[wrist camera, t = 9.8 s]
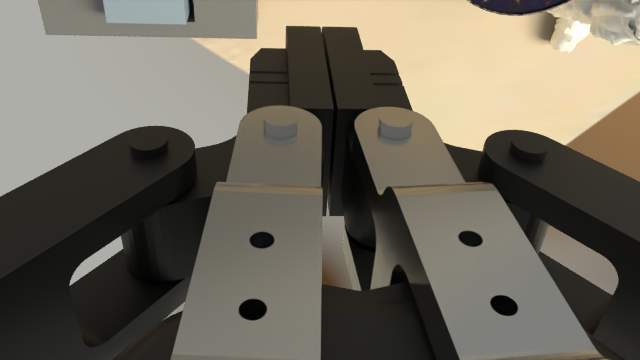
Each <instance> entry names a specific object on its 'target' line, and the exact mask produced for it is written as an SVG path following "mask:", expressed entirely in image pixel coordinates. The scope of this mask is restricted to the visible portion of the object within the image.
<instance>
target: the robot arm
mask: <svg viewBox="0 0 640 360" xmlns="http://www.w3.org/2000/svg"><path fill="white" fill-rule="evenodd" d="M402 84H403V83H402V81H401V78H400V76H399V73H398V70H397V67H396V65H395V62H394V61H393V60H392V59H391V58H389V57H388V56H387V55H386V54H384V53H383V52H382V51H381V50H363V47H362V43H361V40H360V36H359V33H358V30H357V28H356V27H322V33H321V28H320V27H312V26H286V49H276V48H261V49H260V50H259V51H258V52H257V53H256V54H255V55H254V56H253V57H252V58H251V61H250V76H249V91H248V106H247V114H246V115H245V116H244V117H243V118H242V120H241V121H240V124H239V128H238V132H237V135H236V136H235V137H233V138H232V139H230V140H227V141H225V142H223V143H219V144H216V145H212V146H207V147H201V148H196V149H195V144H194V141H193V140H192V138H191V137H190V136H189V135H187V134H186V133H184V132H183V131H180V130H178V129H175V128H171V127H165V126H146V127H139V128H135V129H131V130H129V131H126V132H123V133H121V134H119V135H117V136H115V137H113V138H111V139H109V140H107V141H106V142H104V143H102V144H100V145H98V146H96V147H94V148H92V149H90V150H88V151H87V152H85V153H83V154H81V155H79V156H77V157H75V158H73V159H71V160H69V161H67V162H65V163H64V164H62V165H60V166H58V167H56V168H54V169H52V170H50V171H48V172H47V173H45V174H43V175H41V176H39V177H37V178H35V179H33V180H31V181H29V182H27V183H26V184H24V185H22V186H20V187H18V188H16V189H14V190H12V191H10V192H9V193H6V194H5V195H3V196H1V197H0V360H640V182H639V181H637V180H635V179H633V178H631V177H629V176H626V175H624V174H622V173H620V172H618V171H616V170H614V169H612V168H610V167H608V166H606V165H604V164H602V163H600V162H598V161H596V160H593V159H591V158H589V157H587V156H585V155H583V154H581V153H579V152H577V151H575V150H573V149H571V148H569V147H567V146H565V145H562V144H560V143H558V142H556V141H554V140H552V139H550V138H548V137H545V136H543V135H540V134H537V133H533V132H529V131H523V130H505V131H500V132H496V133H494V134H492V135H490V136H489V137H488V138H487V139H486V141H485V144H484V148H483V152H481V151H476V150H471V149H466V148H461V147H456V146H452V145H449V144H446V143H443V141H442V139H441V137H440V136H439V134H438V132H437V130H436V128H435V127H434V125H433V124H432V122H431V121H430V120H429V119H427V118H426V117H424V116H423V115H421V114H419V113H417V112H414V111H413V110H412V107H411V105H410V102H409V99H408V97H407V94H406V91H405V89H404V86H402ZM327 199H328V207H329V215H330V216H344V221H345V226H344V237H343V249H344V254H345V258H346V262H347V266H348V270H349V274H350V278H351V282H352V286H353V290H351V289H346V288H340V287H335V286H329V285H324V284H321V283H322V216H326V209H327ZM549 225H551V226H553V227H554V228H556V229H558V230H559V231H561V232H563V233H565V234H567V235H568V236H570V237H572V238H574V239H575V240H577V241H579V242H580V243H582V244H584V245H585V246H587V247H589V248H591V249H593V250H594V251H596V252H598V253H599V254H601V255H602V256H604V257H605V258H607V259H608V260H609V261H610V262H611V263H612V264H613V266H614V267H615V269H616V271H617V274H618V277H619V282H618V286H617V288H616V290H615V293H614V294H613V295H611V294H609V293H607V292H605V291H604V290H602V289H601V288H599V287H597V286H596V285H594V284H592V283H591V282H589V281H587V280H586V279H584V278H583V277H581V276H579V275H578V274H576V273H574V272H573V271H571V270H570V269H568V268H566V267H565V266H563V265H562V264H560V263H558V262H557V261H555V260H553V259H551V258H550V257H548V256H547V255H545V254H544V253H542V252H540V249H541V246H542V243H543V240H544V238H545V235H546V232H547V230H548V227H549ZM119 236H121V239H122V243H123V248H124V249H122V250H121V251H119V252H118V253H117V254H115V255H114V256H112V257H111V258H109V259H108V260H107V261H105V262H104V263H102V264H101V265H99V266H98V267H96V268H95V269H93V270H92V271H91V272H89V273H88V274H86V275H85V276H83V277H82V278H80V279H79V280H78V281H76V282H75V283H73V284H72V285H70V286H69V284H70V280H71V277H72V275H73V273H74V271H75V270H76V268H77V267H78V266H79V265H80V264H81V263H82V262H83V261H84V260H85V259H87V258H88V257H90V256H91V255H92V254H94V253H96V252H97V251H99V250H100V249H102V248H103V247H105V246H106V245H107V244H109V243H110V242H112V241H113V240H115V239H116V238H118V237H119ZM184 302H185V305H184V309H183V311H181V312H179V313H176V314H174V315H172V316H170V317H168V318H166V317H167V316H168V315H169V314H171V313H172V312H173V311H174V310H175V309H176V308H178V307H179V306H180V305H181V304H182V303H184ZM165 318H166V319H165ZM164 319H165V320H164ZM162 320H163V321H162Z"/></svg>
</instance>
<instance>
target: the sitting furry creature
mask: <svg viewBox="0 0 640 360" xmlns="http://www.w3.org/2000/svg"><path fill="white" fill-rule="evenodd" d="M546 12H548V13H551V14H552V15H553V16H554V17H558V19H557V20H556V24H555V26H554V27H555V31H554V33H553V35H552V38H551V40H550V45H551V47H553V48H554V49H556V50H558V51H561V52H563V51H565V50H567V52H571V51H572V50H573V49H574V47H575V46H576V44H577V42H579V41H581V40H582V39H583V38H585V36H586V35H588V33H589V28H590V32H591V34H592V35H593V36H594V37H595V38H602V39H603V40H606V41H609V42H610V43H611V44H612V45H617V44H619V43H623V44H626V45H629V46H631V45H636V46H640V0H571V1H569V2H567V3H565V4H563V5H561V6H559V7H557V8H554V9H551V10H548V11H546Z"/></svg>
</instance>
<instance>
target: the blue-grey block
mask: <svg viewBox="0 0 640 360" xmlns="http://www.w3.org/2000/svg"><path fill="white" fill-rule="evenodd" d="M103 3H104V9H105V15H106V21H107V23H137V24H183V25H186V23H187V20H188V16H189V13H190V10H191V6H192V0H103Z"/></svg>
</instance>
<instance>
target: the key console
mask: <svg viewBox="0 0 640 360" xmlns="http://www.w3.org/2000/svg"><path fill="white" fill-rule="evenodd" d="M38 2H39V6H40V10H41V15H42V19H43V23H44V27H45V32H46V35H89V36H91V35H92V36H141V37H189V38H239V39H257V24H258V0H192V6H191V10H190V13H189V16H188V20H187V23H186V25H183V24H137V23H107V21H106V15H105V9H104V3H103V0H38Z"/></svg>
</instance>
